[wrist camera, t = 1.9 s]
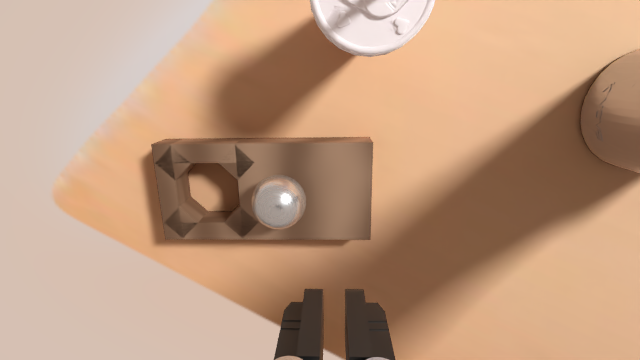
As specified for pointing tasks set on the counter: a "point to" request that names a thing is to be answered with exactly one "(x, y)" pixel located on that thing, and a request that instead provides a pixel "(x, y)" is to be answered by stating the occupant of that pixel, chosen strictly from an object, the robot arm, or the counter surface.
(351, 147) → the brown ball holder
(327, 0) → the smoothie
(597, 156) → the robot arm
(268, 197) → the ball
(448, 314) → the counter surface
